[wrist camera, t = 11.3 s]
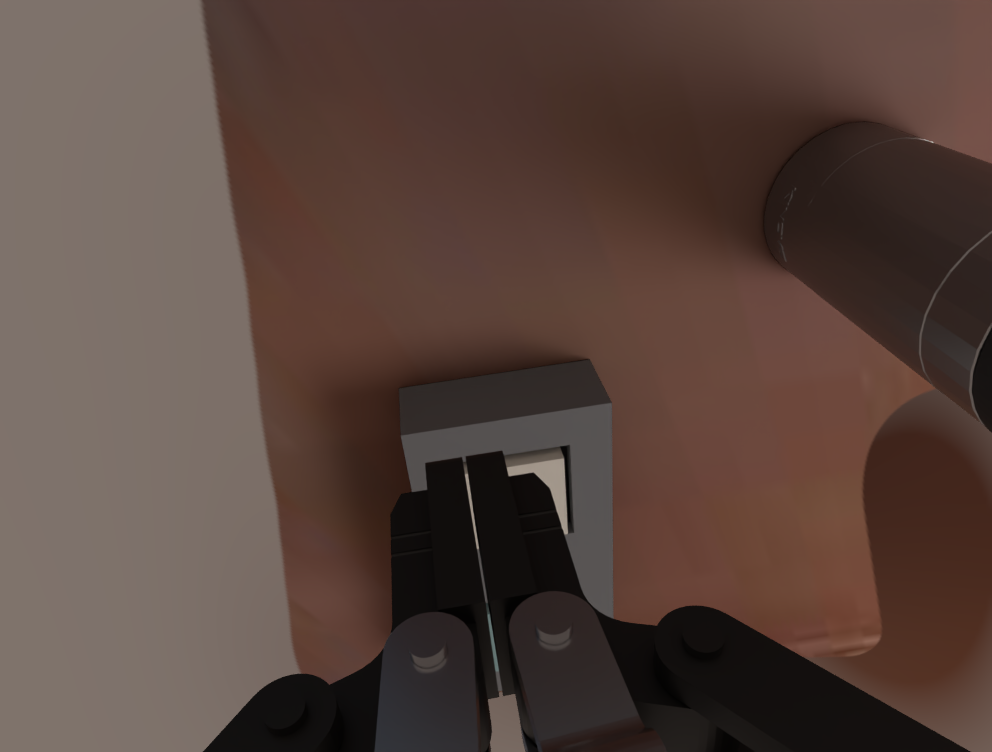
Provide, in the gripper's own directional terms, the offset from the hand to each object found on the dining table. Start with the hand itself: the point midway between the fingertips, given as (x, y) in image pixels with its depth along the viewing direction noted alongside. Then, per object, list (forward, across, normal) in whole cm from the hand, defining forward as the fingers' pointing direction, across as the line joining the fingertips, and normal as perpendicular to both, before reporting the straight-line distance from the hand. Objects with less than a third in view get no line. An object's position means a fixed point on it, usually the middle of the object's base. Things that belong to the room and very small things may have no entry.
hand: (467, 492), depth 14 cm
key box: (+27, -3, +26) cm, 38 cm away
